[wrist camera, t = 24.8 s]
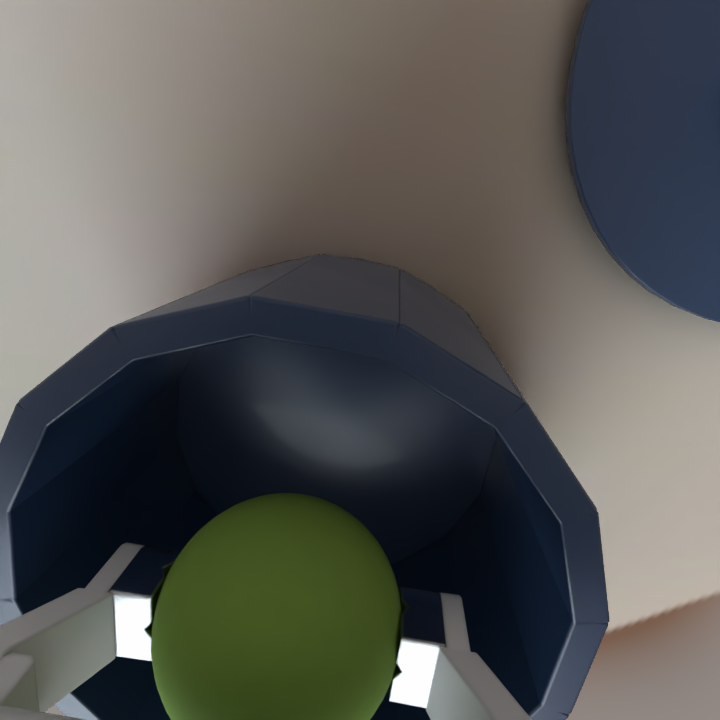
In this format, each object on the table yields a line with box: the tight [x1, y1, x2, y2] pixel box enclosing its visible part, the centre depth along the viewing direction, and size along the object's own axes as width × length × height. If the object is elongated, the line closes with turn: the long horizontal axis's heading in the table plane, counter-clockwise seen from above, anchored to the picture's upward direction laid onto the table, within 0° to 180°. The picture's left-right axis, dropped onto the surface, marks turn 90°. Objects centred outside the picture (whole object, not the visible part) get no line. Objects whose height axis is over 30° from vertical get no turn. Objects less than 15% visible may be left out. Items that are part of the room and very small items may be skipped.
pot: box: [0, 254, 609, 720], centre depth 16 cm, size 15×15×10 cm
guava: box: [151, 493, 402, 720], centre depth 11 cm, size 6×6×6 cm
